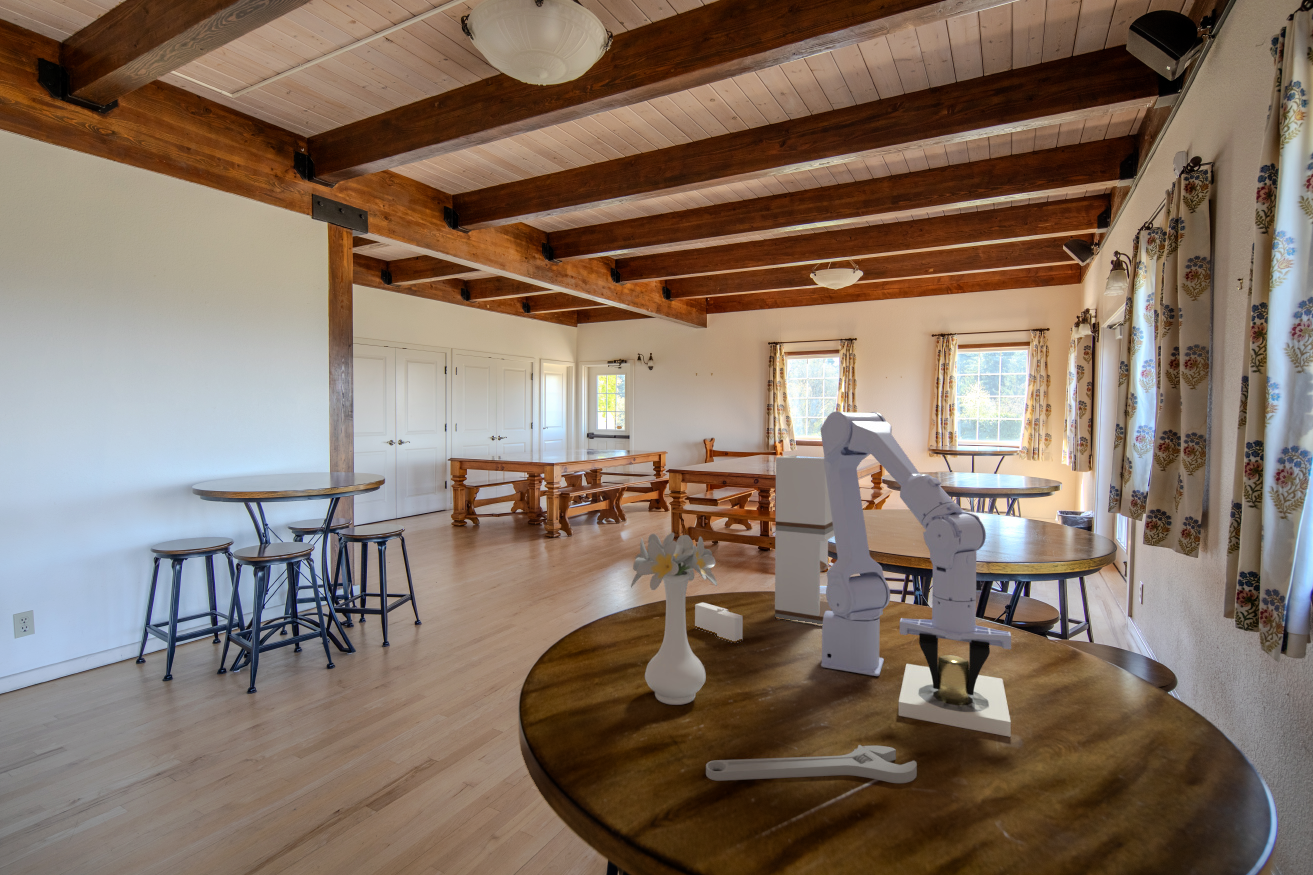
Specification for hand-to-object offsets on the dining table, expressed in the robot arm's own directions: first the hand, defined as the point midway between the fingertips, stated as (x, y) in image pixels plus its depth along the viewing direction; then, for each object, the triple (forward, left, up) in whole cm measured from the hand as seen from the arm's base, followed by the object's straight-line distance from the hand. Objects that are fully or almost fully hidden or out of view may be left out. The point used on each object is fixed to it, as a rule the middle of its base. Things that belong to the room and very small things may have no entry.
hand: (952, 689), depth 90 cm
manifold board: (0, +3, -3) cm, 4 cm away
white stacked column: (-29, +37, -3) cm, 47 cm away
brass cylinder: (0, 0, -3) cm, 3 cm away
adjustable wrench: (-16, -24, -4) cm, 29 cm away
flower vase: (-39, -13, -3) cm, 41 cm away
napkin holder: (-42, +16, -4) cm, 46 cm away
